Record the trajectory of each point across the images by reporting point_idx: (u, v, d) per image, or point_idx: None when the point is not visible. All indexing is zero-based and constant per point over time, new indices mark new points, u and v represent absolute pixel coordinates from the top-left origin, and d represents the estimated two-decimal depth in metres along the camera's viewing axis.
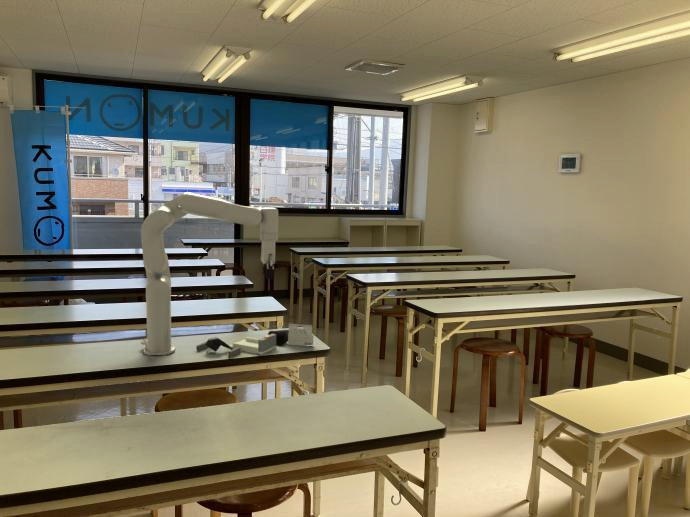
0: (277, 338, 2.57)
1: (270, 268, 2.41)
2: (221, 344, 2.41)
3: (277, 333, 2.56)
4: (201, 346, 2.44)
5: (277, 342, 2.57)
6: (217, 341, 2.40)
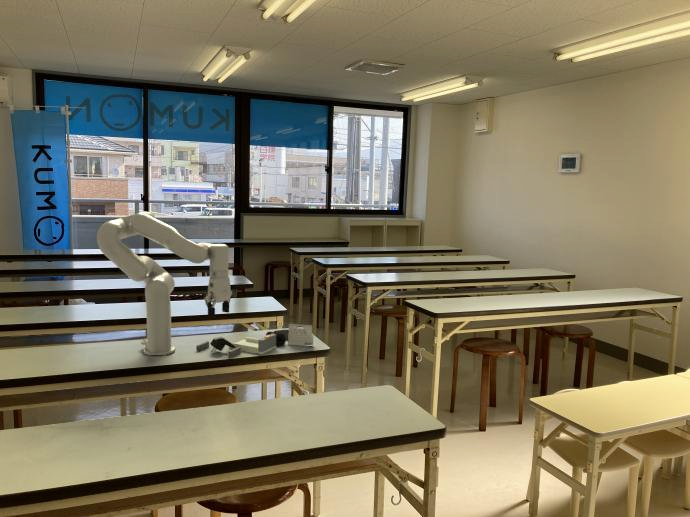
0: None
1: None
2: (226, 344, 2.42)
3: None
4: (201, 346, 2.44)
5: None
6: (222, 341, 2.41)
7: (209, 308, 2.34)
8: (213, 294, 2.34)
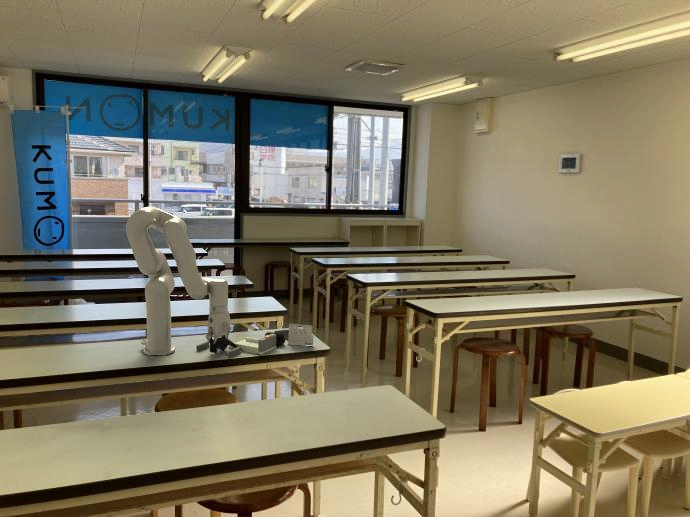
0: None
1: None
2: (229, 344, 2.41)
3: None
4: (201, 346, 2.44)
5: None
6: (225, 341, 2.41)
7: (211, 344, 2.37)
8: (213, 331, 2.36)
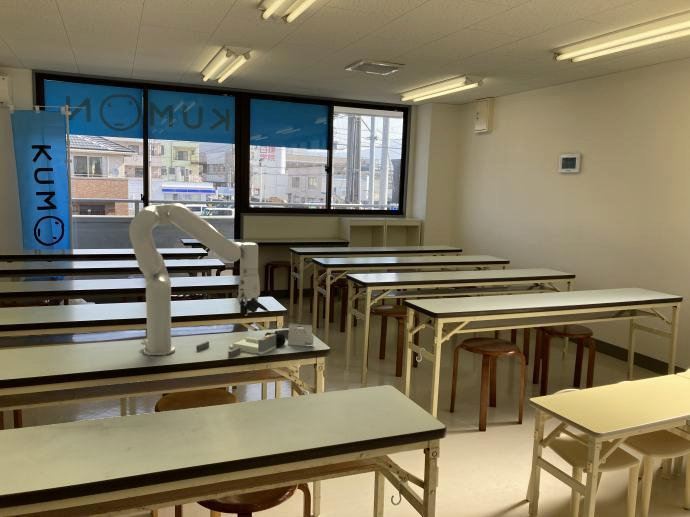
0: None
1: None
2: (259, 306, 2.47)
3: None
4: (201, 346, 2.44)
5: None
6: (255, 303, 2.46)
7: (242, 306, 2.43)
8: (244, 293, 2.41)
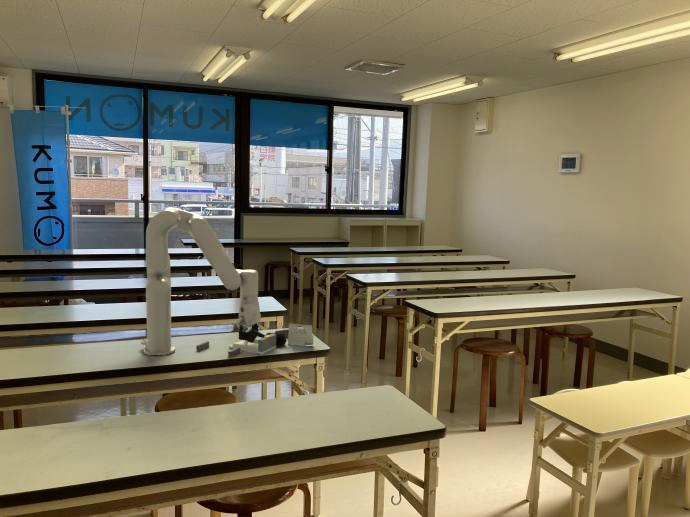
0: None
1: None
2: (257, 335, 2.48)
3: None
4: (201, 346, 2.44)
5: None
6: (252, 333, 2.48)
7: (240, 331, 2.44)
8: (244, 318, 2.43)
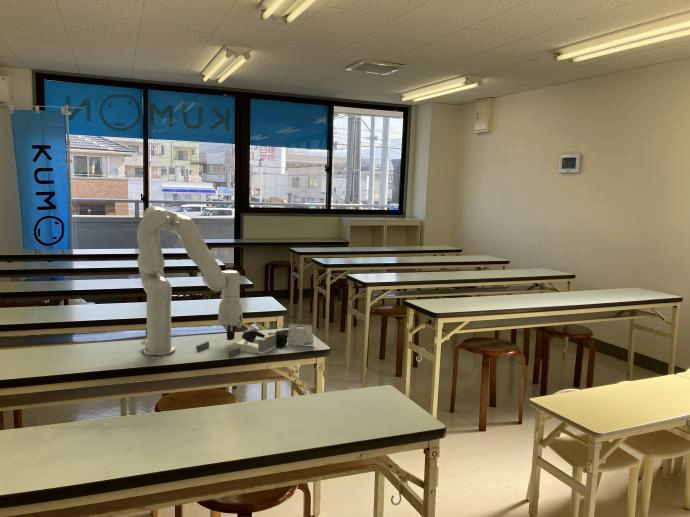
0: (276, 340, 2.54)
1: (234, 330, 2.52)
2: (257, 335, 2.49)
3: (277, 335, 2.53)
4: (201, 346, 2.44)
5: (277, 344, 2.54)
6: (252, 333, 2.48)
7: None
8: None
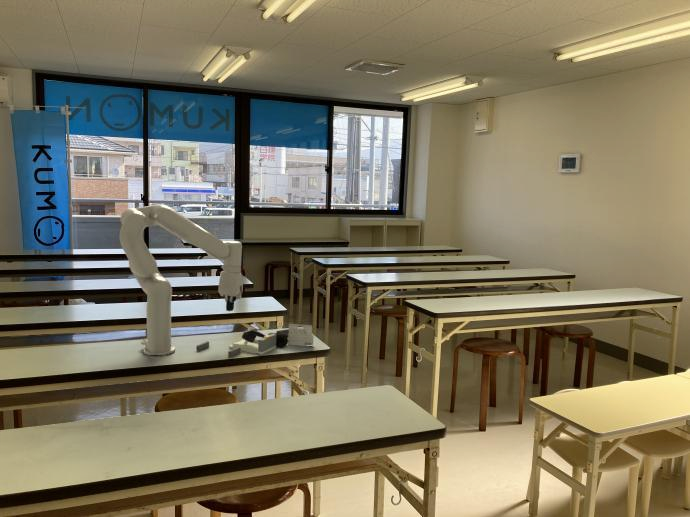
0: (277, 340, 2.54)
1: (233, 301, 2.52)
2: (257, 335, 2.49)
3: (277, 335, 2.53)
4: (201, 346, 2.44)
5: (277, 344, 2.54)
6: (252, 332, 2.48)
7: None
8: None
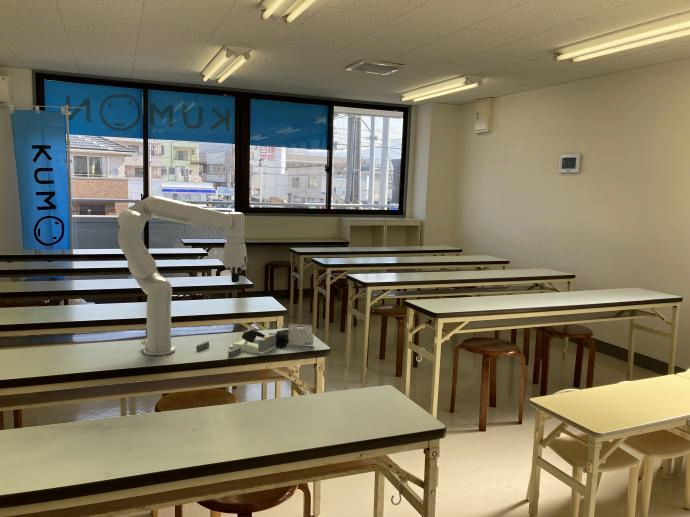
0: (277, 340, 2.54)
1: (238, 272, 2.52)
2: (257, 335, 2.49)
3: (278, 335, 2.53)
4: (201, 346, 2.44)
5: (278, 344, 2.54)
6: (252, 332, 2.48)
7: None
8: None
